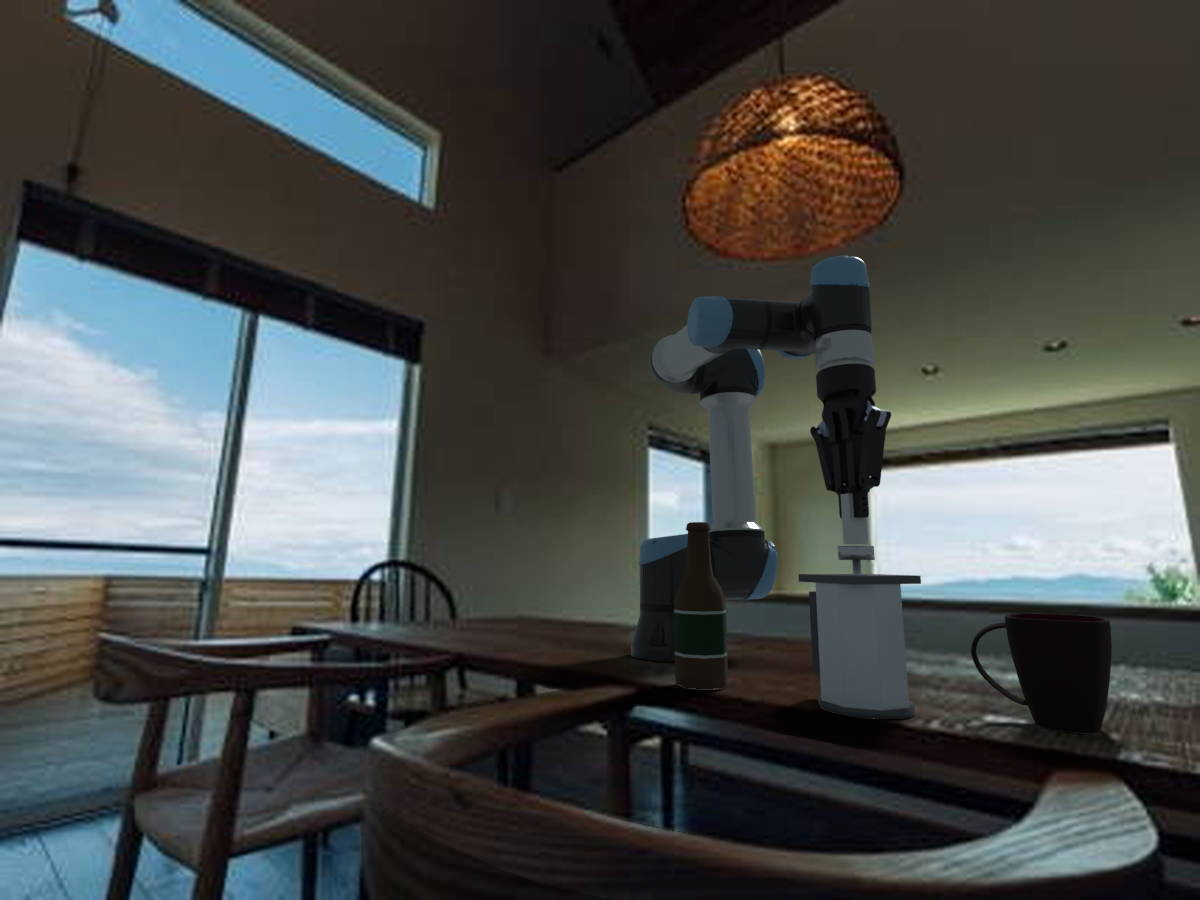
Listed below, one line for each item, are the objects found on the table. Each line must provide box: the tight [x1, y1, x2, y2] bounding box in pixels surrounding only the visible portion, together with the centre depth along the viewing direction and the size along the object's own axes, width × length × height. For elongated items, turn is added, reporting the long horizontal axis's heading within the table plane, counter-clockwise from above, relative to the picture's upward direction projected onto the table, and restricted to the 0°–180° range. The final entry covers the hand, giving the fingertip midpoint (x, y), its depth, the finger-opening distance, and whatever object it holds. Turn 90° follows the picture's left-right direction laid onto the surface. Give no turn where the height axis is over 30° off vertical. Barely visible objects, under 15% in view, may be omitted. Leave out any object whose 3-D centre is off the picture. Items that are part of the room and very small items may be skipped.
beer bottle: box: [674, 521, 729, 689], centre depth 97 cm, size 8×8×24 cm
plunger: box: [837, 545, 876, 575], centre depth 84 cm, size 4×4×9 cm
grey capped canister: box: [798, 573, 922, 720], centre depth 84 cm, size 14×11×16 cm
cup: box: [970, 612, 1113, 735], centre depth 75 cm, size 10×14×12 cm
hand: (855, 543), depth 84 cm, fingers closed
